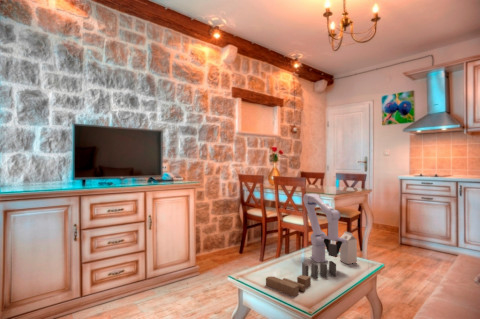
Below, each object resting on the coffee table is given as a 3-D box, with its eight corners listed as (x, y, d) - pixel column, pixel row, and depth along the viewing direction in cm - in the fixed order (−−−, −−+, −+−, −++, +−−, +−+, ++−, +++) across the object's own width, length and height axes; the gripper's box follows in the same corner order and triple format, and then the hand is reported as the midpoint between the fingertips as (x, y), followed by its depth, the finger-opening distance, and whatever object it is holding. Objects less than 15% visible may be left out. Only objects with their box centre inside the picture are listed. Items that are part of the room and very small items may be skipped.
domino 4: (329, 254, 163) (329, 243, 163) (337, 256, 160) (337, 244, 160) (328, 255, 162) (328, 243, 162) (336, 257, 159) (336, 245, 159)
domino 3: (324, 277, 148) (324, 264, 148) (320, 273, 153) (320, 261, 153) (327, 277, 148) (327, 264, 148) (322, 273, 153) (322, 261, 153)
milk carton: (349, 259, 176) (349, 230, 176) (356, 263, 169) (356, 233, 170) (340, 260, 174) (340, 231, 174) (347, 264, 167) (347, 234, 167)
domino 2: (315, 278, 147) (315, 265, 147) (311, 274, 152) (311, 262, 152) (317, 277, 147) (317, 265, 147) (313, 274, 152) (313, 261, 152)
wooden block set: (295, 286, 125) (265, 275, 138) (295, 298, 125) (265, 286, 138) (312, 275, 138) (283, 266, 150) (312, 286, 138) (283, 276, 150)
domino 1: (305, 278, 146) (305, 266, 146) (302, 275, 151) (302, 262, 151) (308, 278, 146) (308, 265, 146) (304, 274, 151) (304, 262, 151)
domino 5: (333, 276, 149) (333, 264, 149) (329, 273, 154) (329, 261, 154) (336, 276, 149) (336, 264, 149) (331, 273, 154) (331, 260, 154)
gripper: (319, 229, 162) (319, 251, 162) (343, 233, 154) (343, 256, 154) (322, 227, 168) (322, 248, 168) (346, 230, 160) (346, 253, 160)
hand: (333, 252), depth 161 cm, fingers closed on domino 4, 5 cm apart
